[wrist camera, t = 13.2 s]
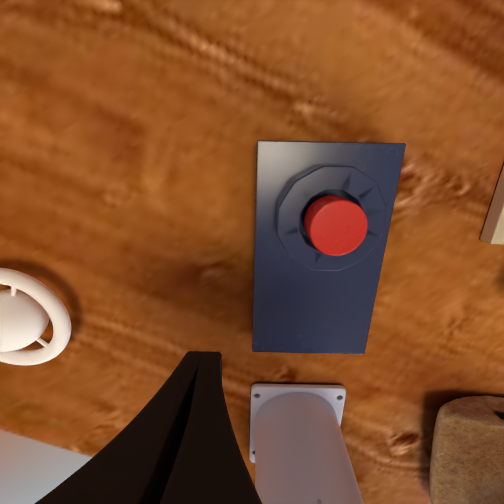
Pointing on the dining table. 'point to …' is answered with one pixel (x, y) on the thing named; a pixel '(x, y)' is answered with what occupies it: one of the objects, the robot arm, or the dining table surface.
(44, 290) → the ring around a ball
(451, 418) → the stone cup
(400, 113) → the dining table surface
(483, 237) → the switch box
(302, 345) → the push button base
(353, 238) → the red push button
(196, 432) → the robot arm
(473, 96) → the dining table surface
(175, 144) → the dining table surface
